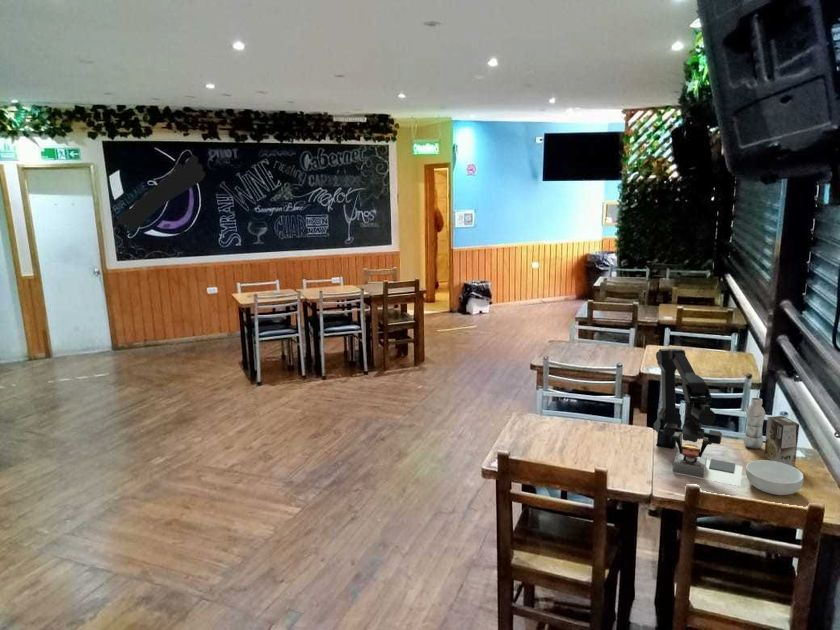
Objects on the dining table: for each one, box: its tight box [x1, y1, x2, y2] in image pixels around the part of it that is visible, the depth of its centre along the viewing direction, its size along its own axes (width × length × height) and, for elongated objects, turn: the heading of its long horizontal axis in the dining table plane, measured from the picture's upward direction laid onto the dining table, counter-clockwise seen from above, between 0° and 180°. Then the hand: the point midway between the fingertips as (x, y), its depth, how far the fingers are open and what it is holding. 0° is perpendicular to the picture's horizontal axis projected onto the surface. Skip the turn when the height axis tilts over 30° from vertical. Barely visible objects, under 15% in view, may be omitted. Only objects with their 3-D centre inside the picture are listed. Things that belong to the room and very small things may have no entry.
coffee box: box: [764, 415, 800, 467], centre depth 217 cm, size 9×6×16 cm
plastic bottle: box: [743, 397, 766, 450], centre depth 229 cm, size 6×7×20 cm
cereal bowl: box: [745, 459, 804, 496], centre depth 197 cm, size 17×17×7 cm
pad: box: [709, 458, 736, 473], centre depth 214 cm, size 8×8×1 cm
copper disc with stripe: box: [682, 443, 701, 463], centre depth 212 cm, size 6×6×9 cm
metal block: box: [672, 450, 708, 479], centre depth 212 cm, size 10×10×4 cm
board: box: [673, 459, 744, 487], centre depth 212 cm, size 21×17×1 cm
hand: (690, 455), depth 211 cm, fingers closed on copper disc with stripe, 6 cm apart
